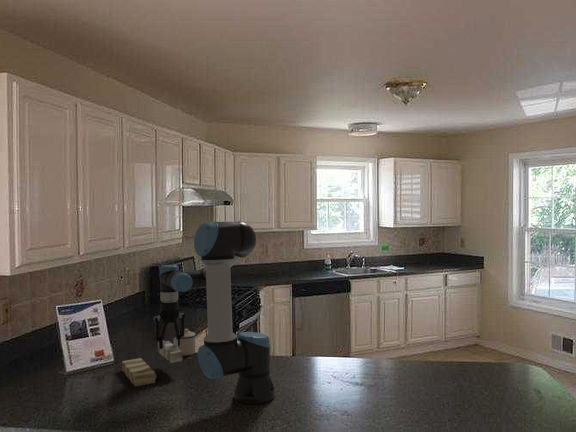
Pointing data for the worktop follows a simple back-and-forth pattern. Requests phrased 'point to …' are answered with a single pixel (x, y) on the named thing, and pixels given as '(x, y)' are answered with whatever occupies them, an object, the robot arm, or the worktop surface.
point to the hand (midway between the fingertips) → (169, 354)
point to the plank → (171, 352)
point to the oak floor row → (138, 372)
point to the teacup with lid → (187, 343)
